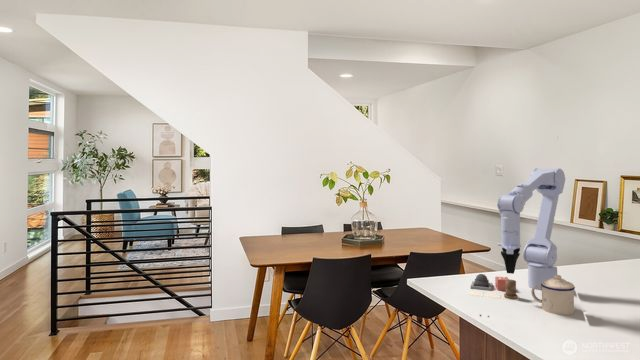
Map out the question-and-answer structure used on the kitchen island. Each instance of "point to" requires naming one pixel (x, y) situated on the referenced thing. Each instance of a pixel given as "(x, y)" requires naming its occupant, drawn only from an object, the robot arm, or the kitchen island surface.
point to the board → (483, 292)
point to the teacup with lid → (556, 296)
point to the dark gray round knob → (481, 281)
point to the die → (500, 283)
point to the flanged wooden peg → (510, 290)
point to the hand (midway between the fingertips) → (510, 271)
